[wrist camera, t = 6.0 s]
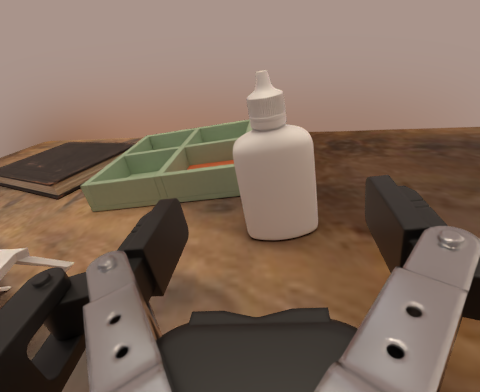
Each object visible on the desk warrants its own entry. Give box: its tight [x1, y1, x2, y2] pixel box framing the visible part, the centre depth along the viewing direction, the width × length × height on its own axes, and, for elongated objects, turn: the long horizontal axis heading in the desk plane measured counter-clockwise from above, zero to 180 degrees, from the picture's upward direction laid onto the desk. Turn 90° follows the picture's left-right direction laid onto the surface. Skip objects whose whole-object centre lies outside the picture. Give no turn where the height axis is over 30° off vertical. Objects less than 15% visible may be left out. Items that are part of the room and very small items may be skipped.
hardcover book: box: [0, 142, 136, 199], centre depth 49 cm, size 16×23×2 cm
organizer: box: [80, 120, 253, 212], centre depth 38 cm, size 18×18×3 cm
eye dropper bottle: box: [233, 70, 318, 240], centre depth 20 cm, size 4×6×12 cm
